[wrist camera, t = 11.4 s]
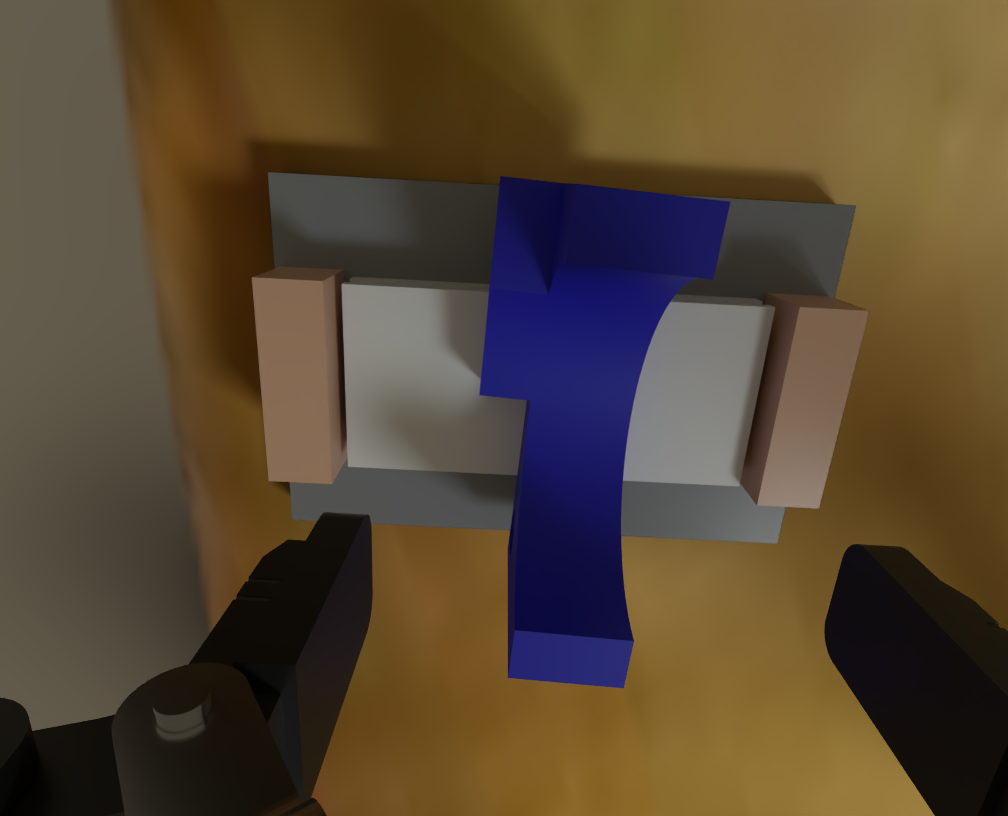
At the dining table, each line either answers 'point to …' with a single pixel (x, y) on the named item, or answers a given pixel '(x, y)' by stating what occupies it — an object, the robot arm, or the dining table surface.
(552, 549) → the blue curved block
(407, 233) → the rail board
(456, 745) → the dining table surface
